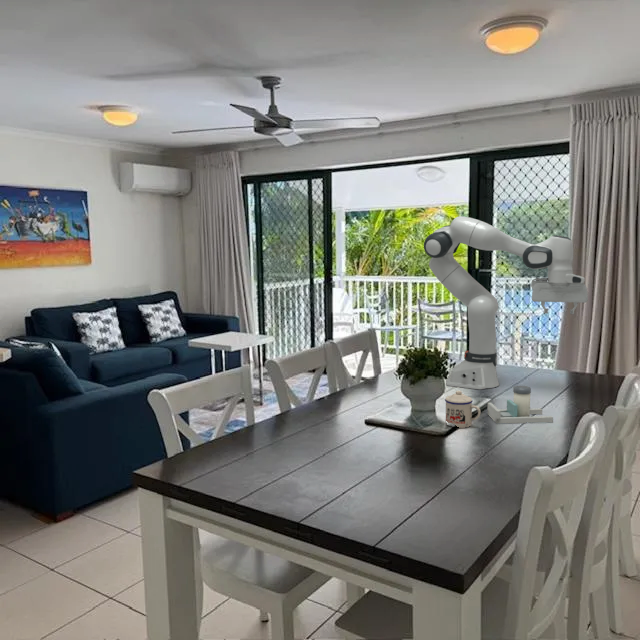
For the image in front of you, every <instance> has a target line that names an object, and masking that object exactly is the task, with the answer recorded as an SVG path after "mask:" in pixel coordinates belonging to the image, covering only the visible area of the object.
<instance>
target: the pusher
mask: <svg viewBox="0 0 640 640" xmlns="http://www.w3.org/2000/svg"><path fill="white" fill-rule="evenodd" d="M506 409H507V412H501V417H517V405H516V404H515V403H514V400H511V399H506Z"/></svg>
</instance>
